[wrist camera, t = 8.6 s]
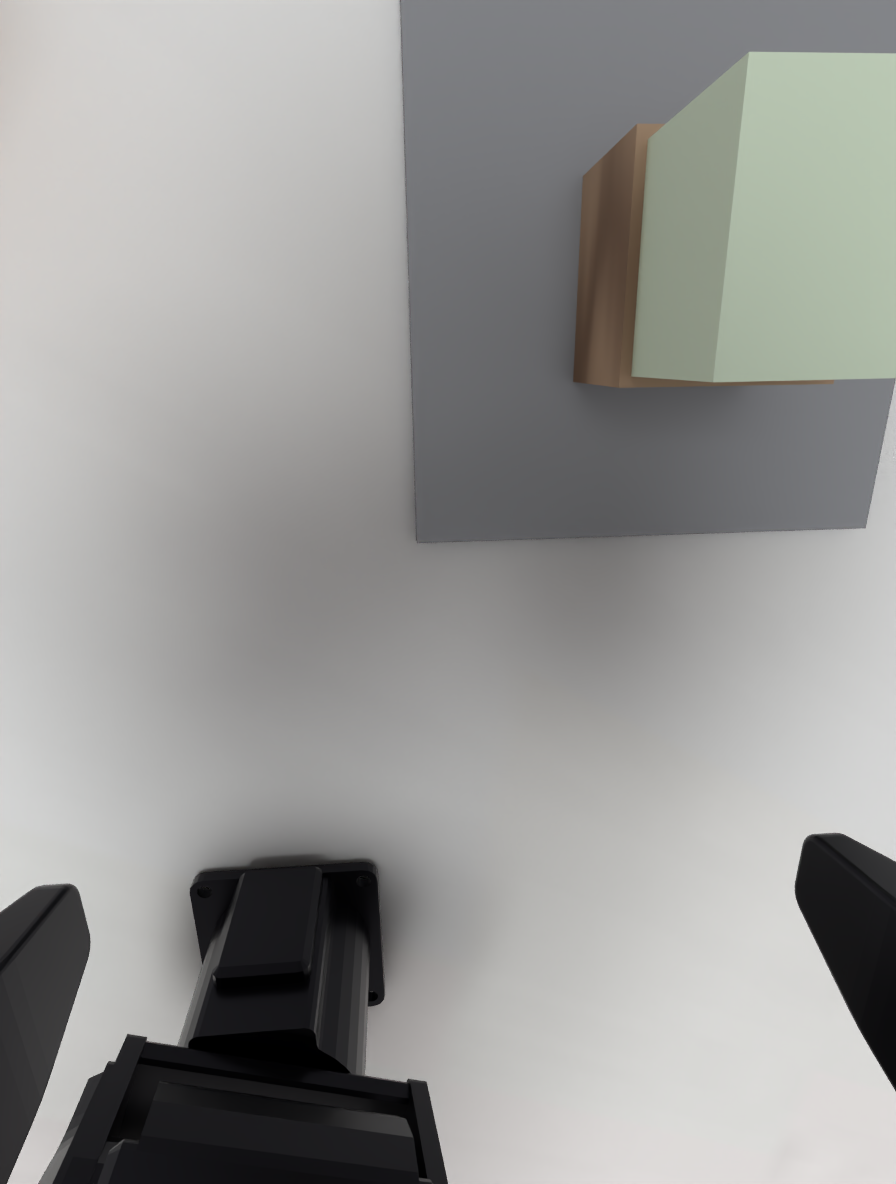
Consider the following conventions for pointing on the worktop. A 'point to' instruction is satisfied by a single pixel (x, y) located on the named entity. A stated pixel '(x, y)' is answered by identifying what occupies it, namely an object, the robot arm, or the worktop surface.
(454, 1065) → the worktop surface
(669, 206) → the sage block
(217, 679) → the worktop surface
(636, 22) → the slate mat
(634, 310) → the walnut block
